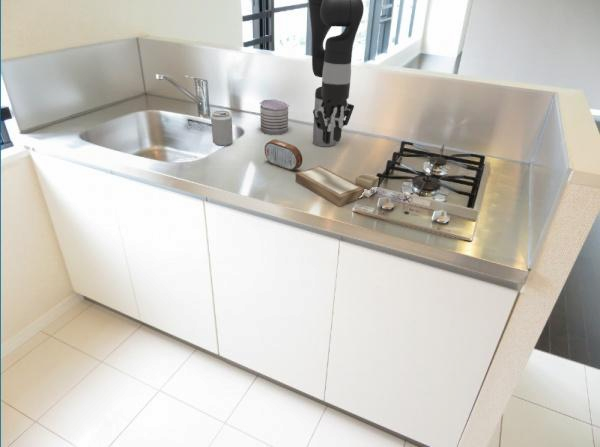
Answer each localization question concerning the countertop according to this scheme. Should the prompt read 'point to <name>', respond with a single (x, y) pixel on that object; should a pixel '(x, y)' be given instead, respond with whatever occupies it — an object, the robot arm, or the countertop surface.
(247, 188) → the countertop surface
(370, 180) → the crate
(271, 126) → the can
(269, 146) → the tin
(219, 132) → the can
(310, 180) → the block
